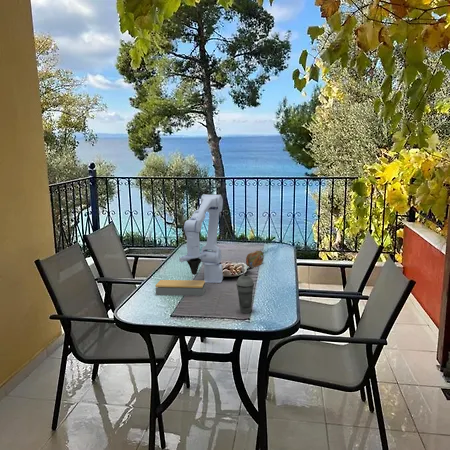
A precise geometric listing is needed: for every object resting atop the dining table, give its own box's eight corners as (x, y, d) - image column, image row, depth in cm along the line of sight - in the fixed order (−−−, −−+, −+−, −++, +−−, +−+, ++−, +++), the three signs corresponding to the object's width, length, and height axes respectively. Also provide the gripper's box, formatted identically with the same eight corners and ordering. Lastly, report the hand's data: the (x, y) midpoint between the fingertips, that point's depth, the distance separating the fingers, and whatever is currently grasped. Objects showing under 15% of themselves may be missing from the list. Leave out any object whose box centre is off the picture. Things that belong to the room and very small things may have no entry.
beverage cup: (249, 315, 172) (248, 267, 168) (233, 312, 176) (232, 265, 172) (257, 309, 178) (257, 263, 175) (242, 306, 182) (241, 261, 178)
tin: (249, 269, 237) (249, 254, 235) (245, 268, 238) (244, 254, 237) (264, 263, 248) (264, 249, 247) (259, 262, 250) (259, 248, 249)
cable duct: (205, 289, 205) (205, 282, 205) (202, 295, 196) (202, 288, 196) (160, 288, 208) (160, 281, 207) (155, 294, 199) (155, 287, 198)
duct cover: (205, 282, 205) (205, 280, 205) (202, 287, 196) (202, 286, 196) (160, 281, 207) (160, 279, 207) (155, 287, 198) (155, 285, 198)
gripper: (200, 241, 203) (201, 269, 206) (175, 246, 194) (176, 275, 197) (209, 244, 198) (210, 272, 200) (183, 249, 189) (185, 278, 191)
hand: (194, 274), depth 198 cm, fingers closed
